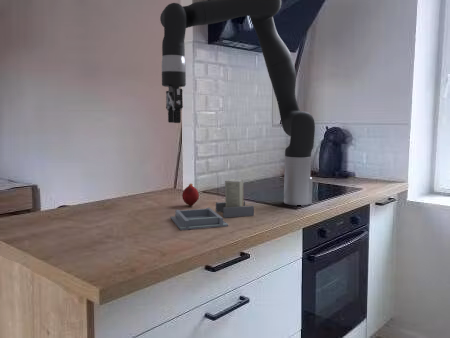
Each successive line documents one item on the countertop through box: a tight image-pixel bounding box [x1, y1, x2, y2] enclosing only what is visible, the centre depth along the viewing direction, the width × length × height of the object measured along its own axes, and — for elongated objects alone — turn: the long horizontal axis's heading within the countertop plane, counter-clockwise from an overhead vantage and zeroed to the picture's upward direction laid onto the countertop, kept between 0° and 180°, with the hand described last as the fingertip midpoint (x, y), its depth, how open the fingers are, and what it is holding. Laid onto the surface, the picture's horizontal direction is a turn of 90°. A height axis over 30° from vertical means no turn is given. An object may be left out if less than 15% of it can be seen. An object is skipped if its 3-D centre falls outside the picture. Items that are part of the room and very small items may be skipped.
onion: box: [182, 183, 200, 207], centre depth 144 cm, size 6×6×8 cm
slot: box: [215, 200, 255, 219], centre depth 134 cm, size 10×9×3 cm
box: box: [224, 178, 244, 207], centre depth 133 cm, size 5×4×11 cm
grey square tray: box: [170, 207, 229, 231], centre depth 123 cm, size 14×14×3 cm
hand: (174, 122), depth 132 cm, fingers open, 8 cm apart
